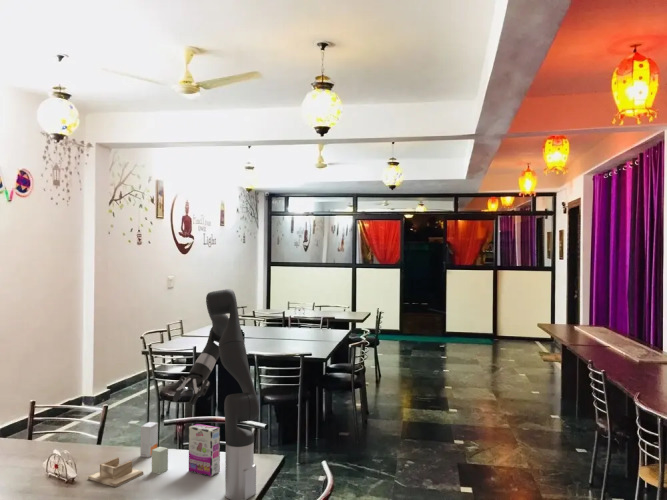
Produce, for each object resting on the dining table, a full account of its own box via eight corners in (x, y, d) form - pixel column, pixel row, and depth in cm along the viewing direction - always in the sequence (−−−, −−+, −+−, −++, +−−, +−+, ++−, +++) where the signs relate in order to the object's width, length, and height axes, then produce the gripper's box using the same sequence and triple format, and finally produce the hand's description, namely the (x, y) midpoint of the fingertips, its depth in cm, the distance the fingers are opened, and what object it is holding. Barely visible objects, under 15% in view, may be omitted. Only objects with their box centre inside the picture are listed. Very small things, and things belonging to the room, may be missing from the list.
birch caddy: (143, 474, 190) (143, 460, 190) (115, 487, 179) (115, 472, 179) (116, 467, 196) (116, 453, 196) (88, 479, 185) (88, 464, 185)
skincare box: (149, 457, 205) (150, 427, 206) (140, 456, 206) (140, 426, 206) (158, 452, 211) (158, 422, 212) (148, 451, 212) (148, 421, 212)
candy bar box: (220, 472, 192) (220, 427, 192) (211, 477, 187) (211, 431, 187) (197, 466, 197) (197, 422, 197) (187, 471, 192) (188, 426, 193)
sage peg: (167, 470, 193) (167, 448, 194) (159, 474, 190) (159, 451, 190) (159, 468, 195) (159, 446, 195) (151, 471, 192) (151, 450, 192)
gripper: (185, 360, 215) (164, 394, 204) (212, 363, 208) (192, 399, 198) (194, 370, 219) (173, 404, 209) (220, 374, 213) (201, 409, 202)
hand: (182, 402), depth 203 cm, fingers open, 8 cm apart
